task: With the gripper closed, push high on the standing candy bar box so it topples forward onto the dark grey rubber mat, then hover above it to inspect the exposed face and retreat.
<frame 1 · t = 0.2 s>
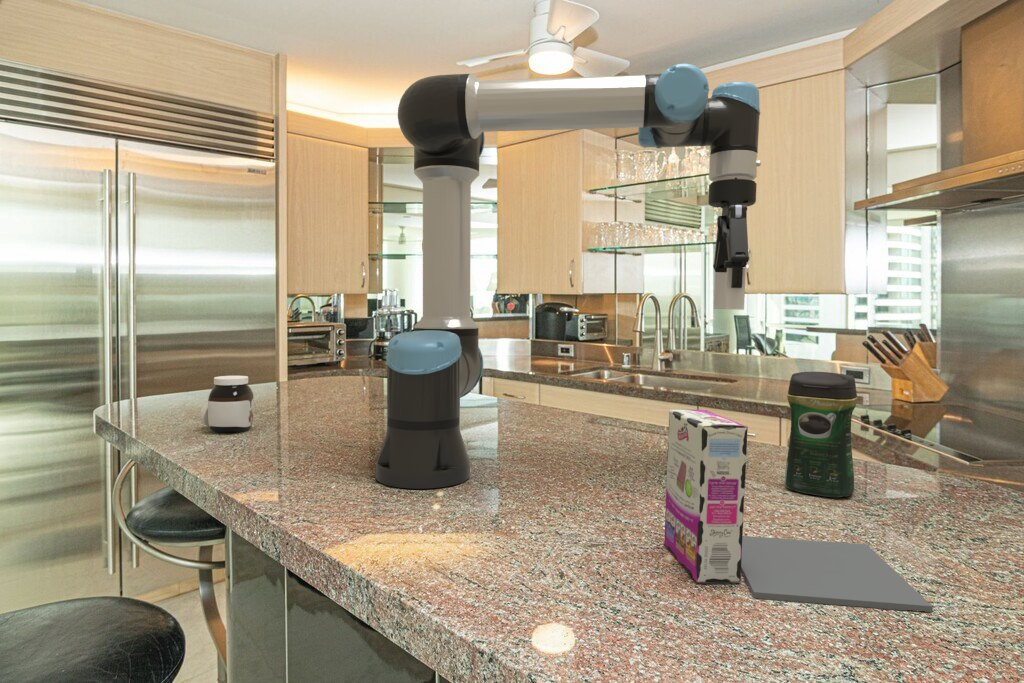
hand: (727, 309, 109), 28 cm above the worktop, fingers open, 13 cm apart
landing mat: (815, 571, 70), on the worktop
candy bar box: (700, 565, 72), on the worktop
spread jar: (225, 430, 141), on the worktop
coffee jar: (818, 492, 101), on the worktop
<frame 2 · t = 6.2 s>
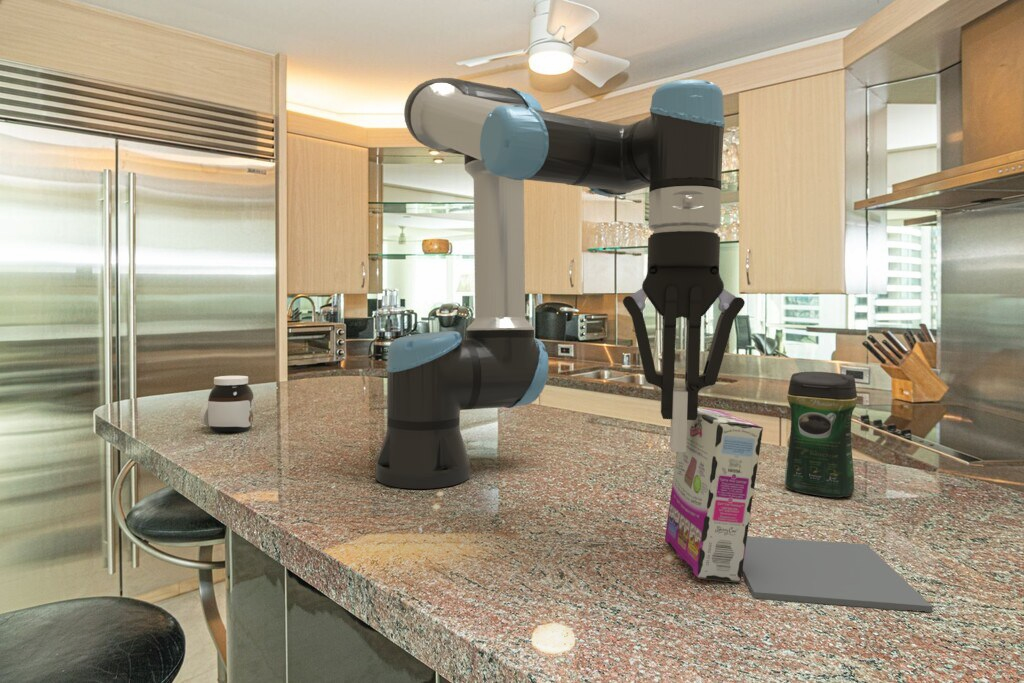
hand: (677, 448, 71), 13 cm above the worktop, fingers closed
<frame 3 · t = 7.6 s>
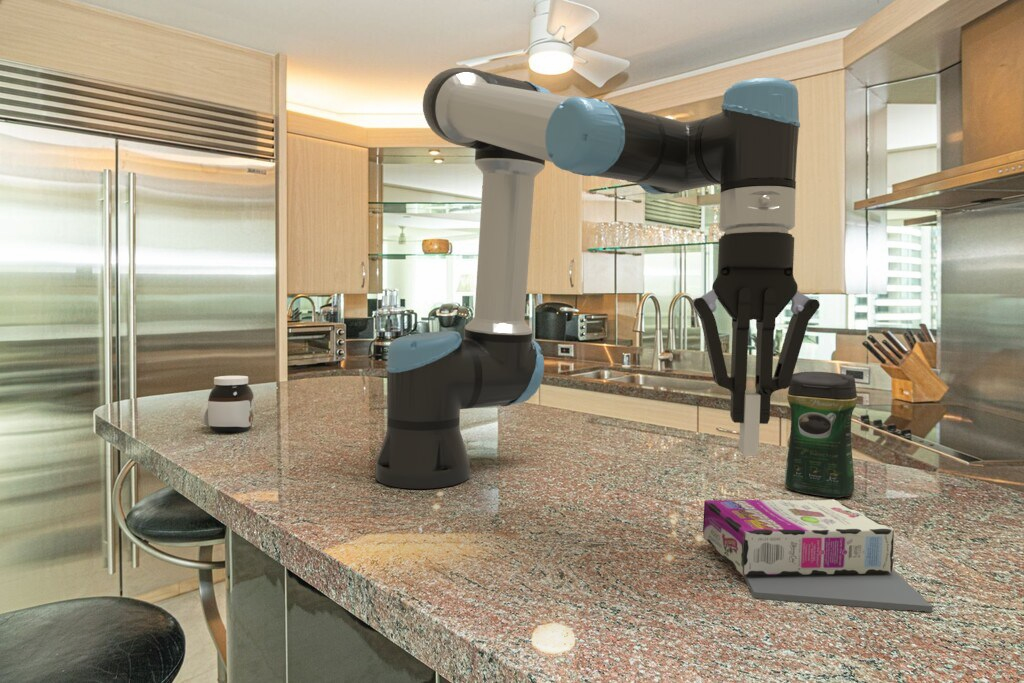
hand: (748, 452, 70), 13 cm above the worktop, fingers closed
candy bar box: (718, 536, 72), point 3 cm above the worktop, touching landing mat
everything else where it was.
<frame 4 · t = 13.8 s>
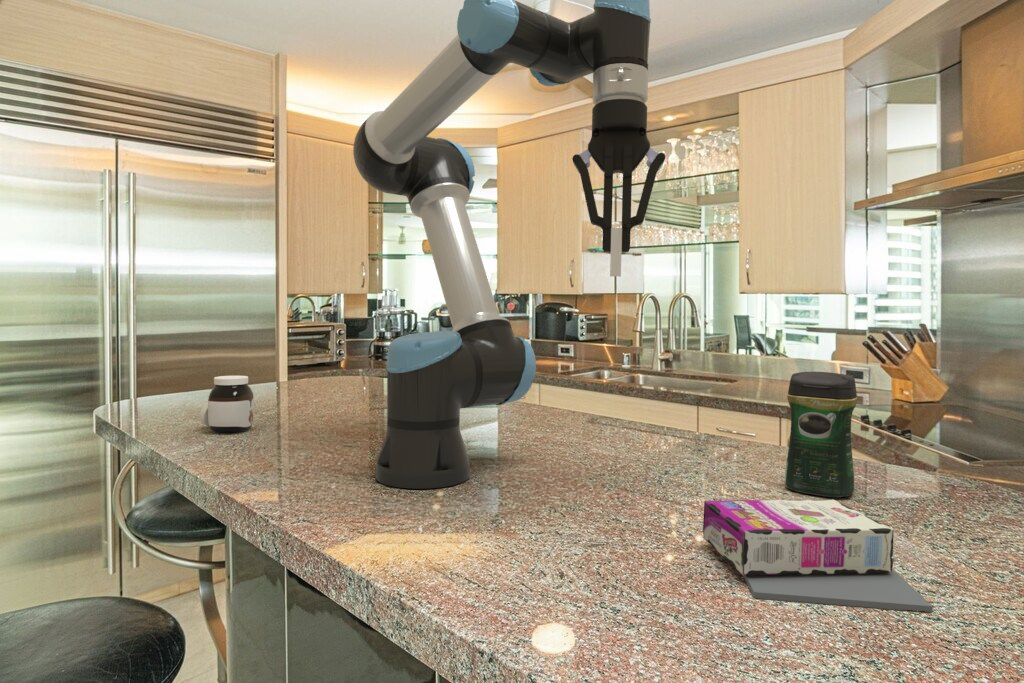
hand: (615, 275, 91), 32 cm above the worktop, fingers closed
nothing on the worktop moved.
at the end: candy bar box tilted 89°; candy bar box touching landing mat; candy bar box inside the target area (5.1 cm from its centre), point 3.0 cm above the worktop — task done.
